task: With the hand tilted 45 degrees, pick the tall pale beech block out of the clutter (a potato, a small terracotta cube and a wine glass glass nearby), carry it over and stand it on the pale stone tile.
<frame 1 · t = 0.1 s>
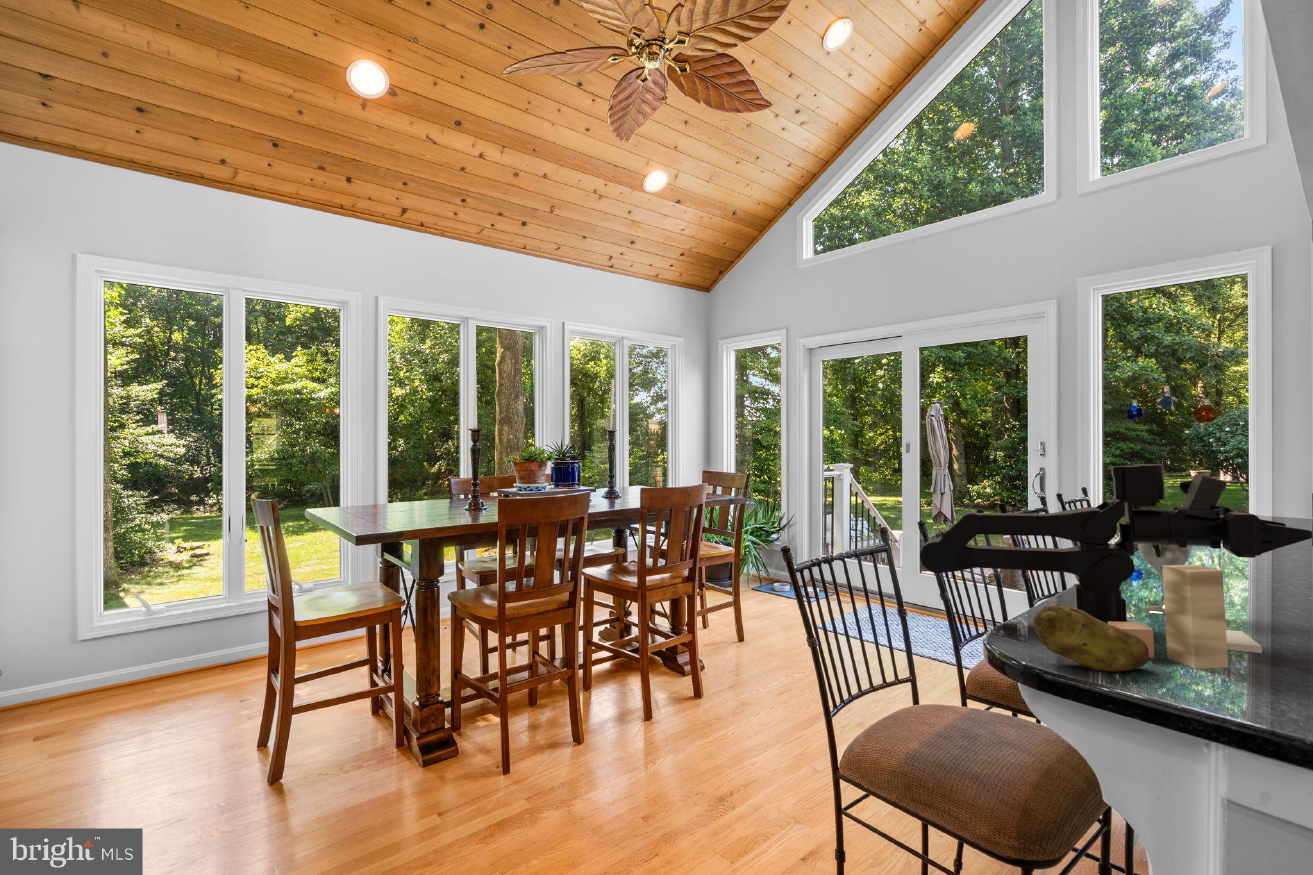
hand: (1298, 530, 93), 17 cm above the countertop, tool horizontal, fingers open, 9 cm apart
terracotta cube: (1131, 652, 91), on the countertop
beech block: (1197, 662, 86), on the countertop
stone tile: (1216, 642, 94), on the countertop
potato: (1090, 667, 86), on the countertop
wine glass: (1167, 612, 112), on the countertop
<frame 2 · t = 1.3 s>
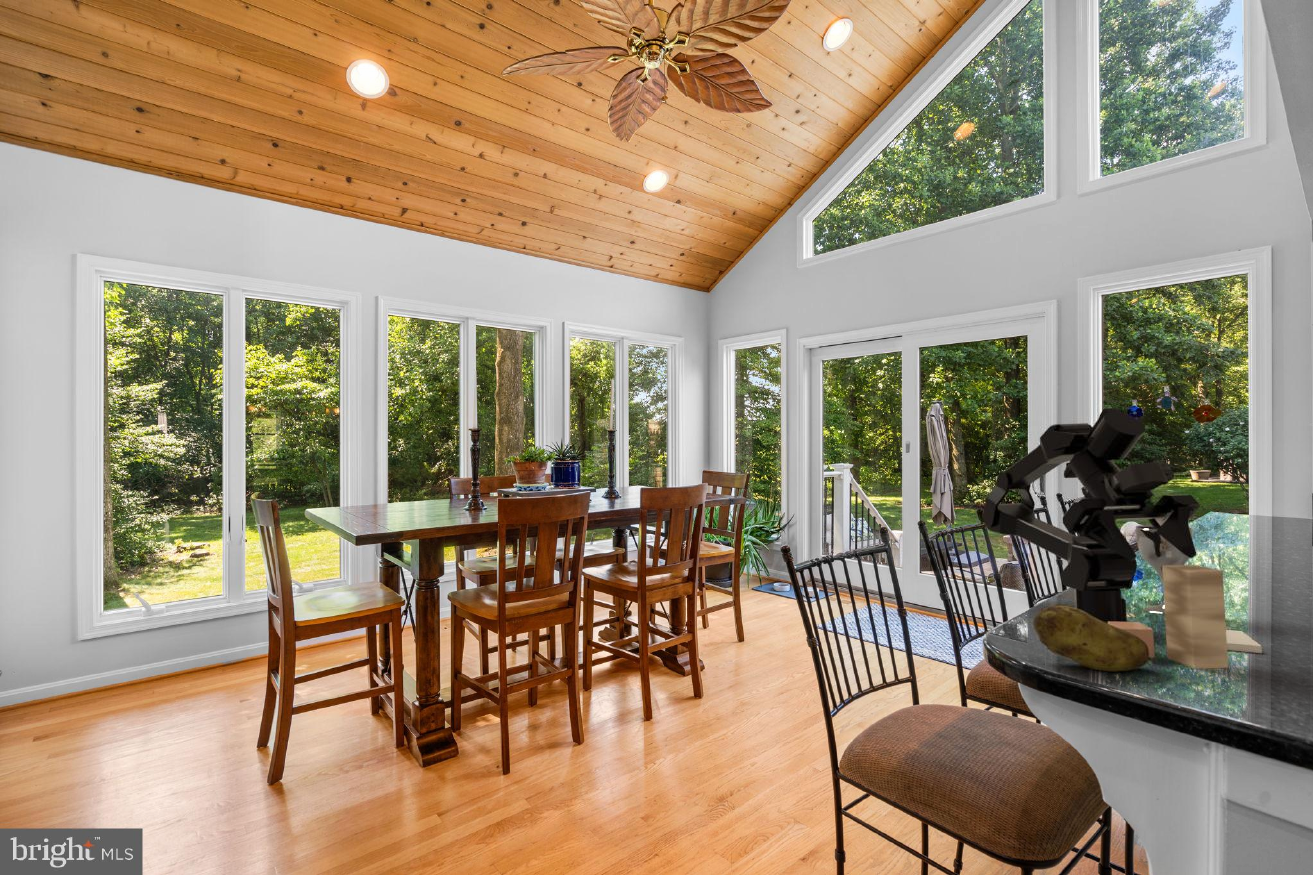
hand: (1163, 557, 92), 13 cm above the countertop, tool tilted 45°, fingers open, 9 cm apart
nothing on the countertop moved.
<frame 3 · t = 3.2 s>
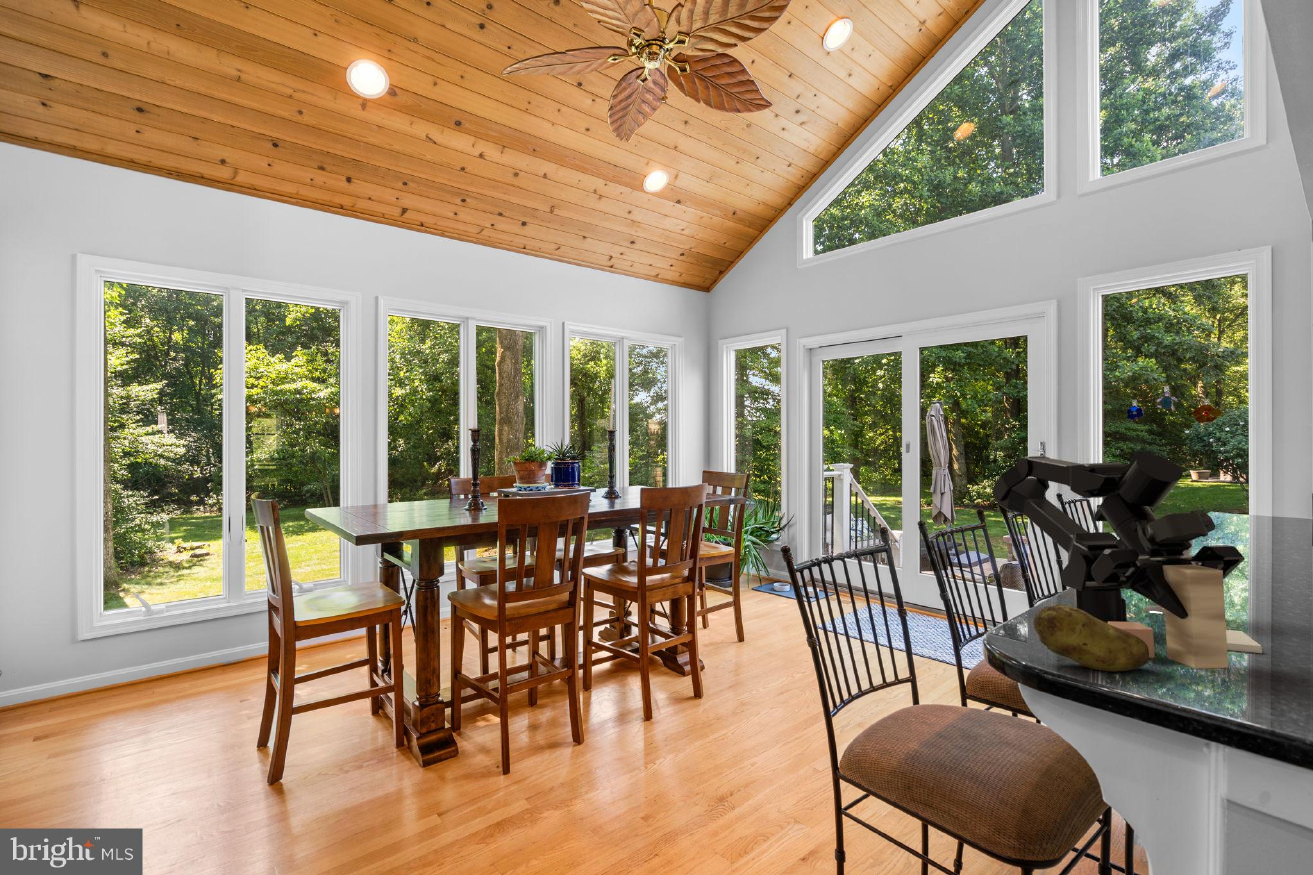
hand: (1203, 616, 85), 7 cm above the countertop, tool tilted 45°, fingers closed on beech block, 4 cm apart
beech block: (1197, 662, 86), on the countertop, touching gripper
everything else where it was.
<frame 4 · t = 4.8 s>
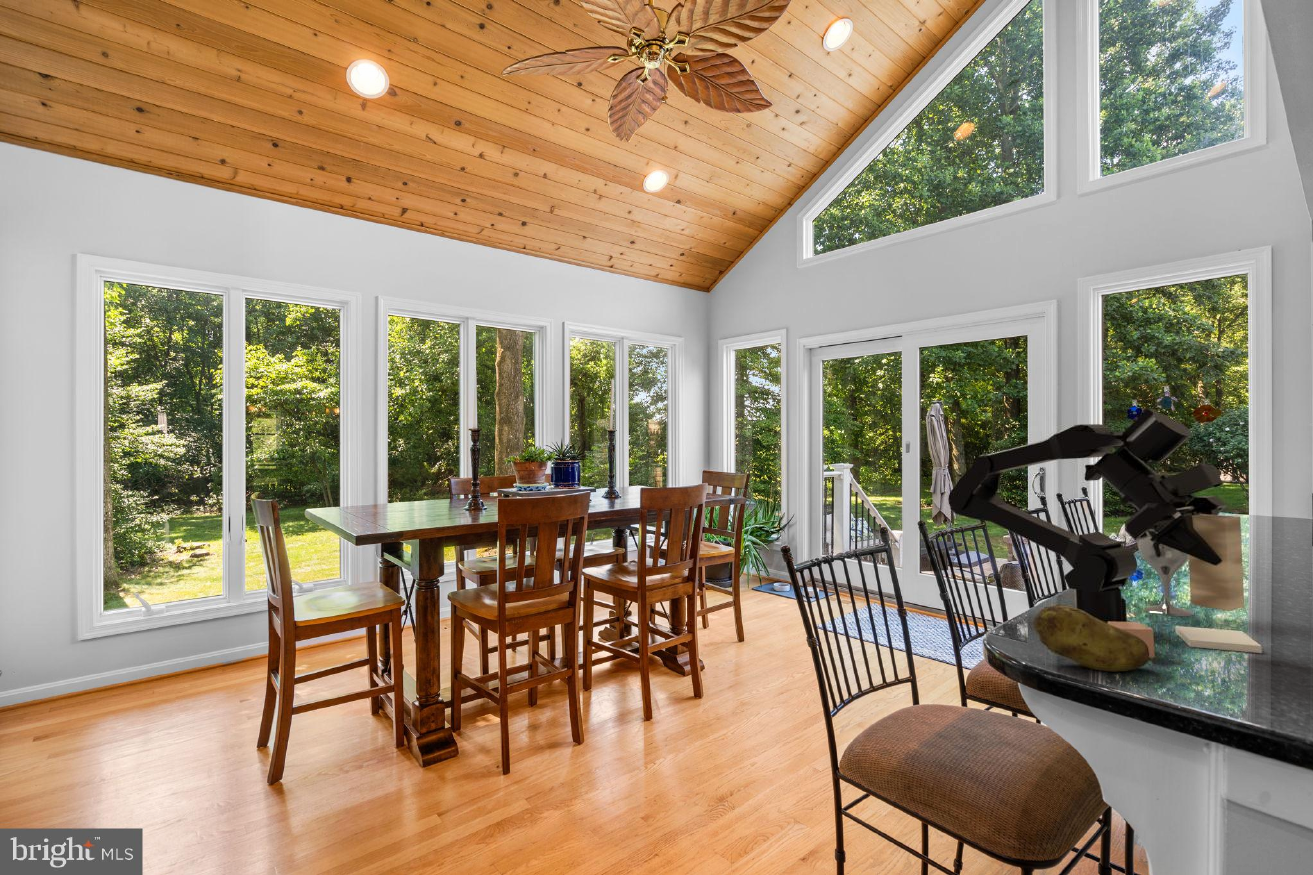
hand: (1227, 561, 90), 13 cm above the countertop, tool tilted 45°, fingers closed on beech block, 4 cm apart
beech block: (1217, 605, 91), point 6 cm above the countertop, touching gripper
everything else where it was.
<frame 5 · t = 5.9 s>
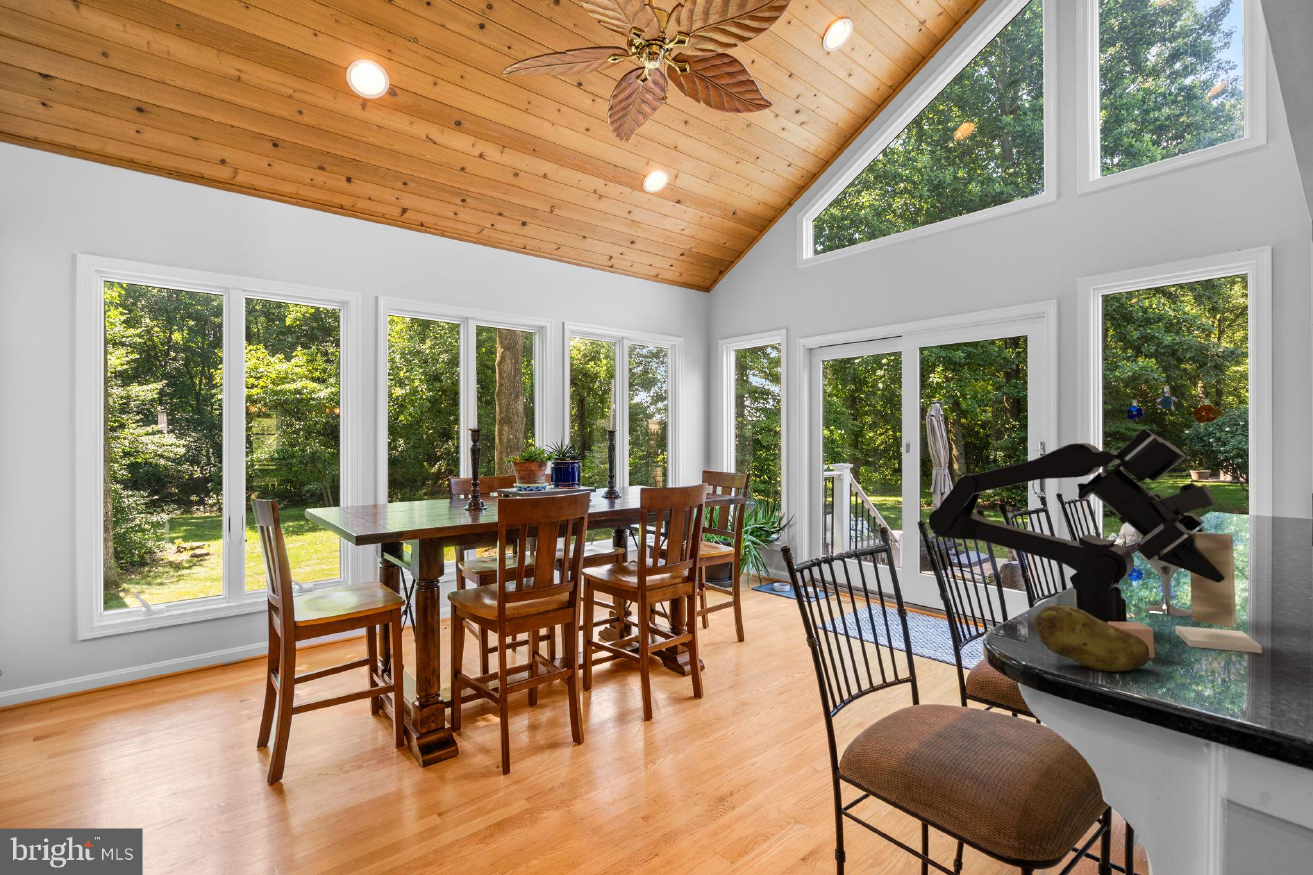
hand: (1224, 578, 93), 10 cm above the countertop, tool tilted 45°, fingers closed on beech block, 4 cm apart
beech block: (1214, 620, 94), point 3 cm above the countertop, touching gripper
everything else where it was.
when the fingers open (8 cm above the countertop, at t = 6.6 s): beech block stays where it is, resting on stone tile.
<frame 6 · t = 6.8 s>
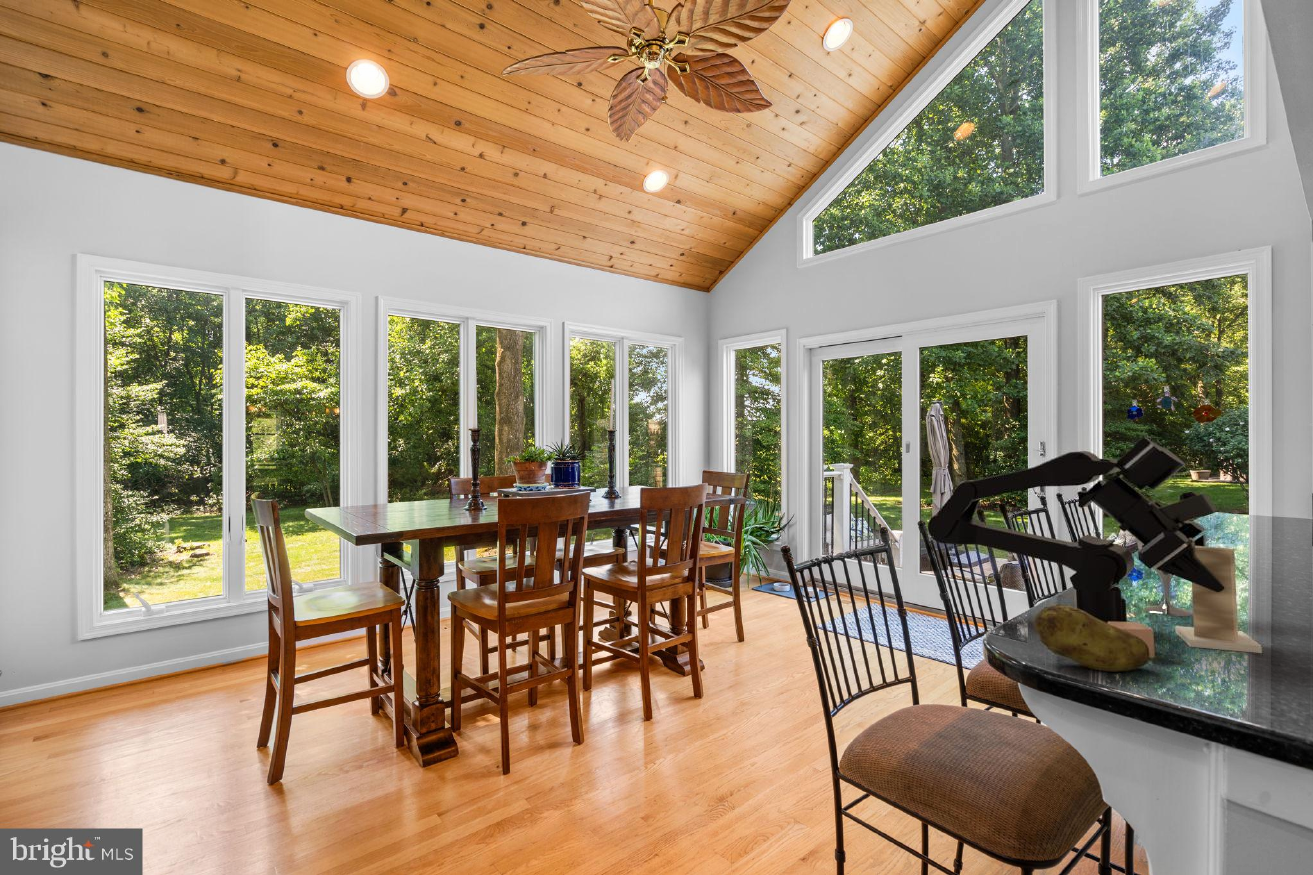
hand: (1225, 586, 93), 9 cm above the countertop, tool tilted 45°, fingers open, 7 cm apart
beech block: (1216, 635, 94), point 1 cm above the countertop, touching stone tile
everything else where it was.
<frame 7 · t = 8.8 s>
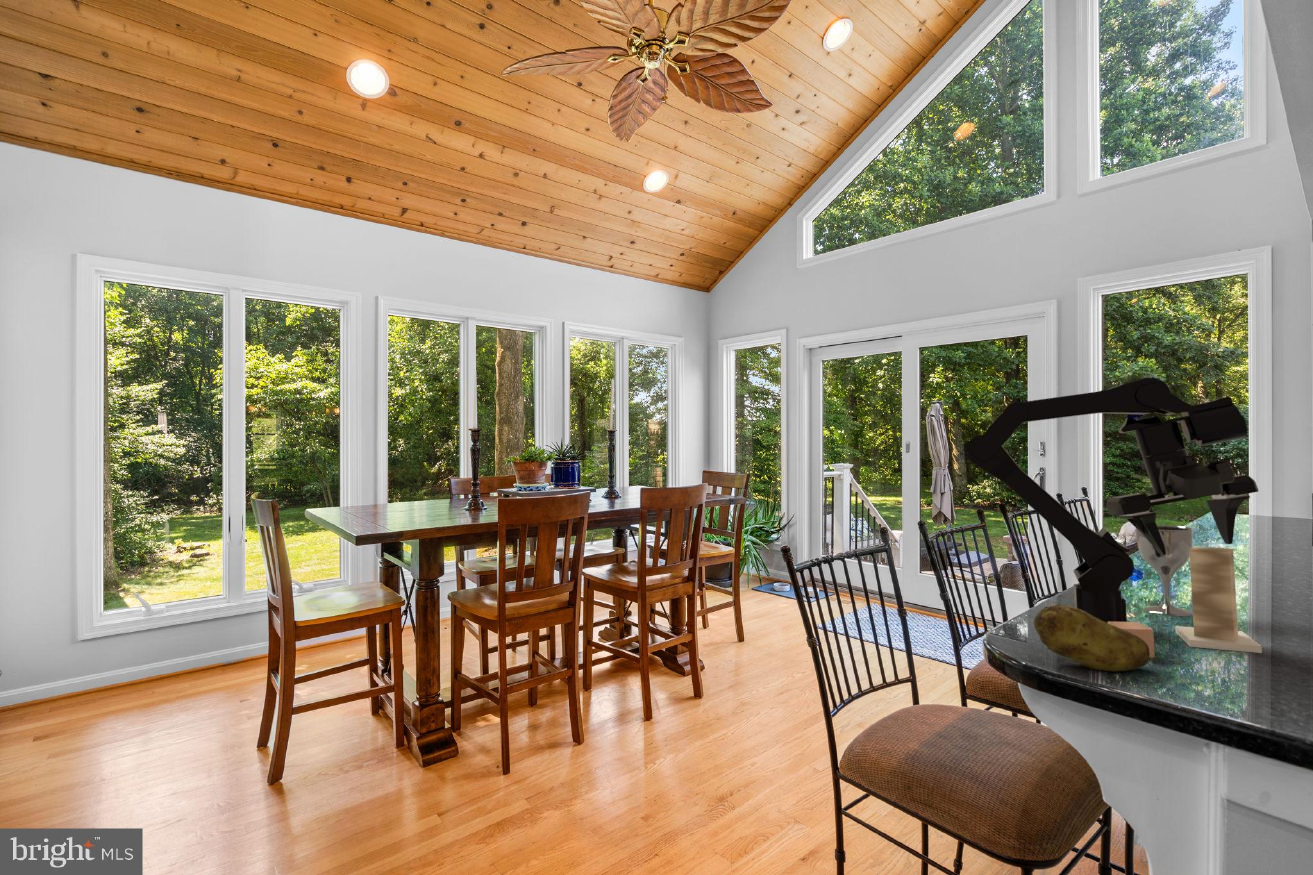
hand: (1195, 549, 98), 13 cm above the countertop, tool pointing down, fingers open, 9 cm apart
nothing on the countertop moved.
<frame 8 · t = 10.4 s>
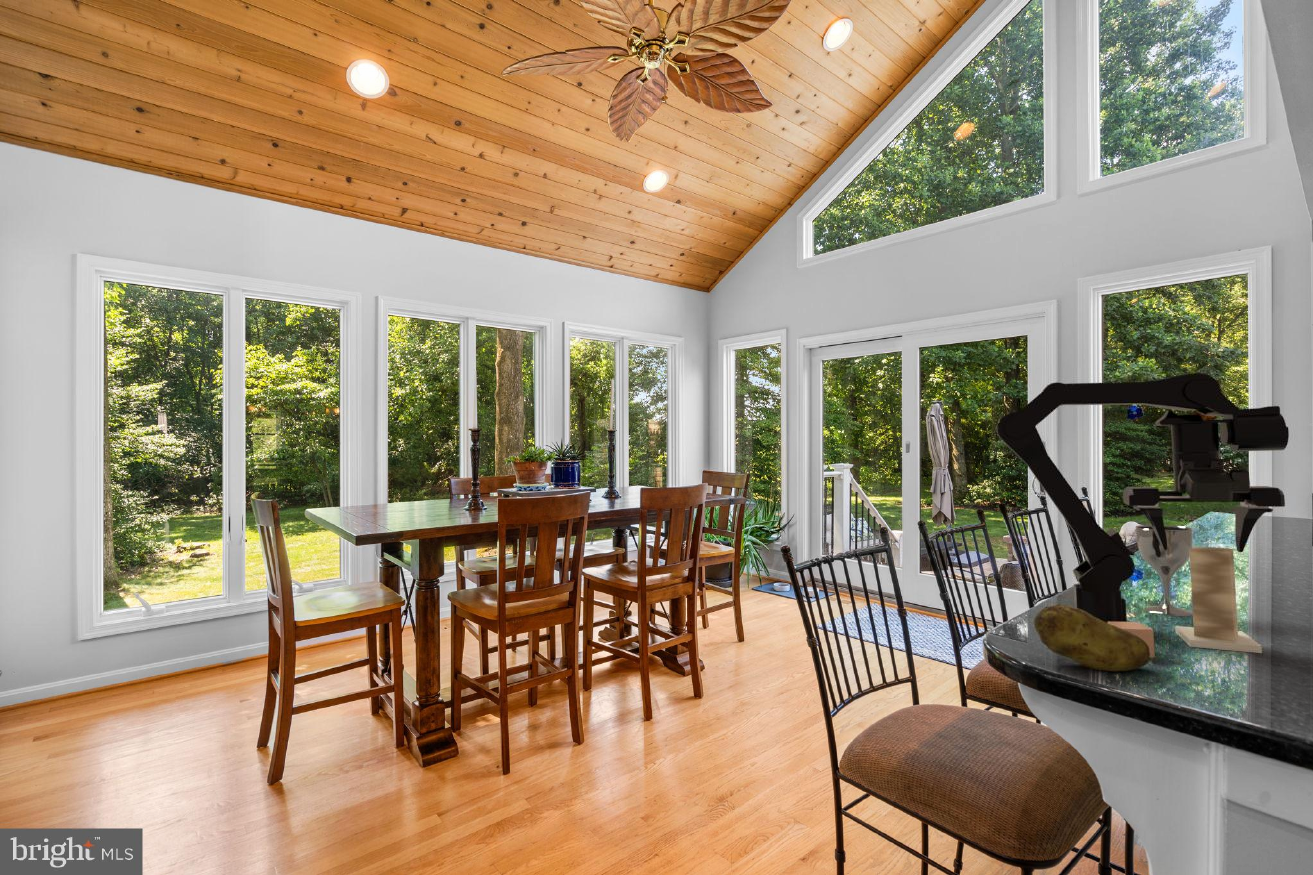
hand: (1201, 550, 99), 13 cm above the countertop, tool pointing down, fingers open, 9 cm apart
nothing on the countertop moved.
at the end: beech block inside the target area on the stone tile (0.0 cm from its centre), point 1.0 cm above the stone tile's base; beech block tilted 0°; the gripper is holding nothing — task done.
